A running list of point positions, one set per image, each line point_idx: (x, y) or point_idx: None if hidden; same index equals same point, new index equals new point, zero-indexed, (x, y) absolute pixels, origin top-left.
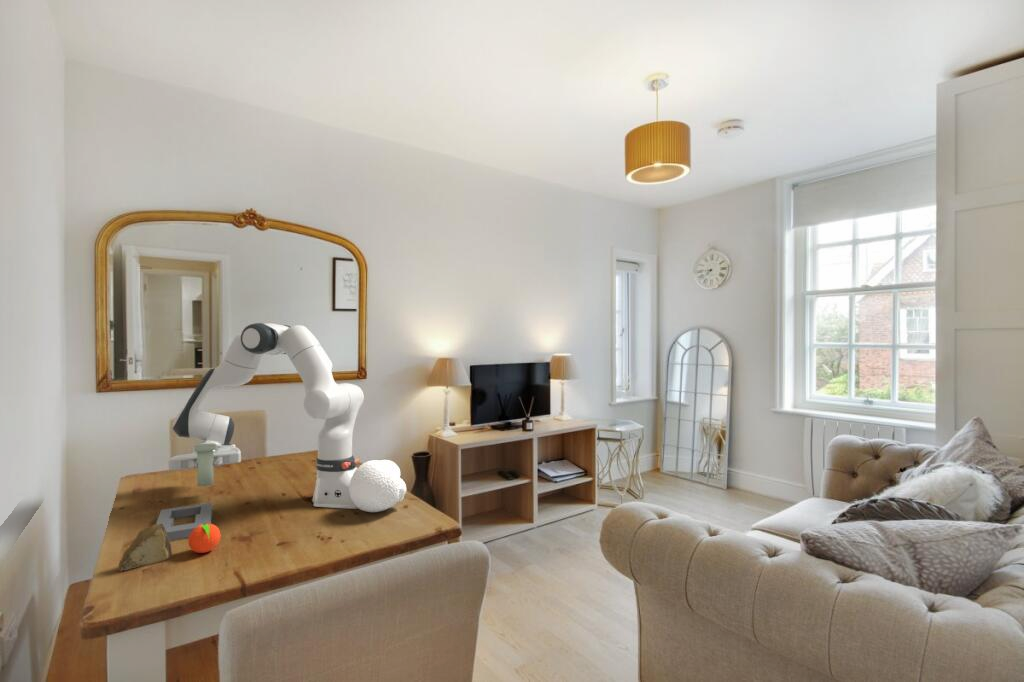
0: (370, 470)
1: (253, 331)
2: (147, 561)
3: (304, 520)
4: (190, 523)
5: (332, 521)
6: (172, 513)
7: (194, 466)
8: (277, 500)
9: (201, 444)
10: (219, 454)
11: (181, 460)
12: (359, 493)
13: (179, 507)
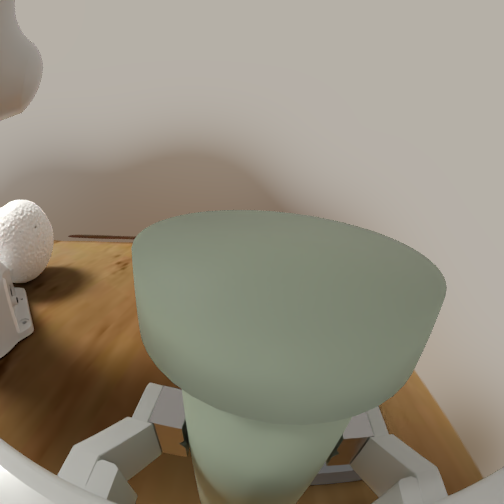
0: (37, 205)
1: None
2: None
3: (93, 302)
4: None
5: (77, 284)
6: None
7: None
8: (27, 420)
9: (403, 310)
10: (67, 494)
11: (495, 472)
12: (52, 237)
13: (336, 469)
